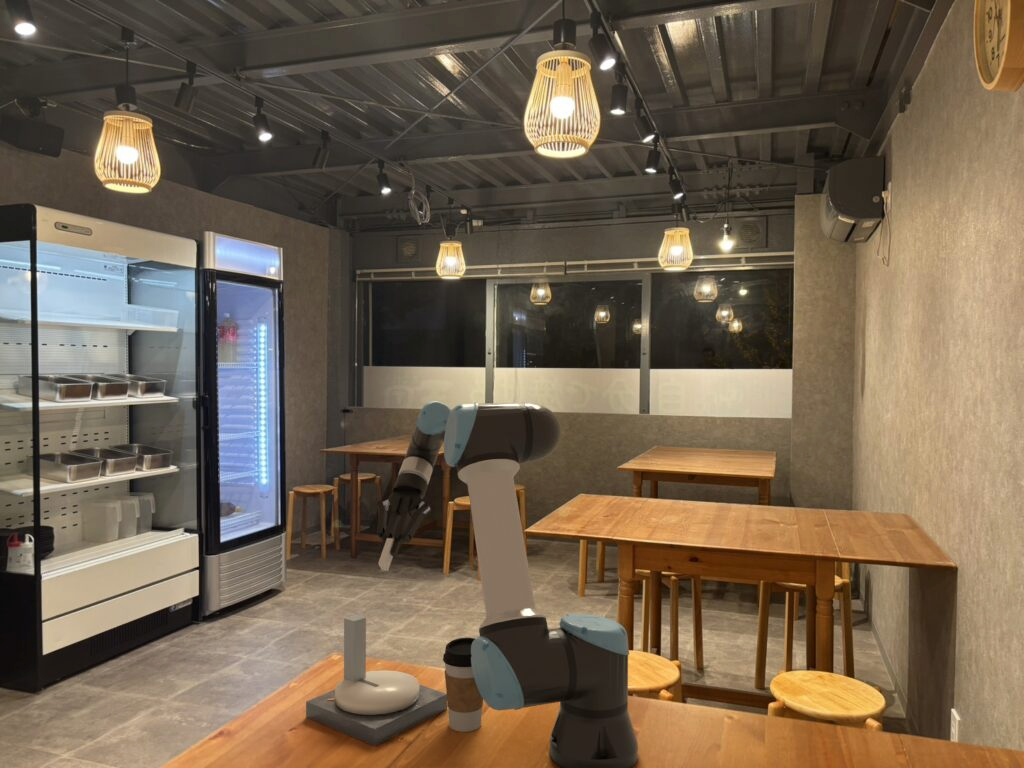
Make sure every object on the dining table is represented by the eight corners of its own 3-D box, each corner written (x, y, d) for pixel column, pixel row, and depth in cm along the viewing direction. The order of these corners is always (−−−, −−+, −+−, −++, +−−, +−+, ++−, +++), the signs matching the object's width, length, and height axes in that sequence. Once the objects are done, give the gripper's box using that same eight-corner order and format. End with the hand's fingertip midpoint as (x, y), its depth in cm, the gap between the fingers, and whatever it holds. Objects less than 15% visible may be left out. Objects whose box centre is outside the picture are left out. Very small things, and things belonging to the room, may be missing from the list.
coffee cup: (490, 715, 146) (490, 637, 146) (484, 736, 138) (484, 653, 138) (447, 713, 147) (447, 636, 147) (438, 734, 139) (438, 651, 139)
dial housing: (447, 709, 149) (447, 693, 149) (374, 746, 134) (374, 728, 134) (379, 685, 161) (379, 670, 160) (306, 717, 145) (306, 700, 145)
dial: (436, 693, 149) (436, 621, 149) (375, 722, 136) (375, 644, 136) (379, 674, 158) (379, 606, 158) (317, 699, 146) (317, 626, 146)
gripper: (442, 491, 183) (415, 578, 167) (392, 489, 186) (361, 574, 170) (434, 472, 178) (406, 559, 162) (383, 469, 181) (350, 555, 165)
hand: (383, 567), depth 166 cm, fingers closed
